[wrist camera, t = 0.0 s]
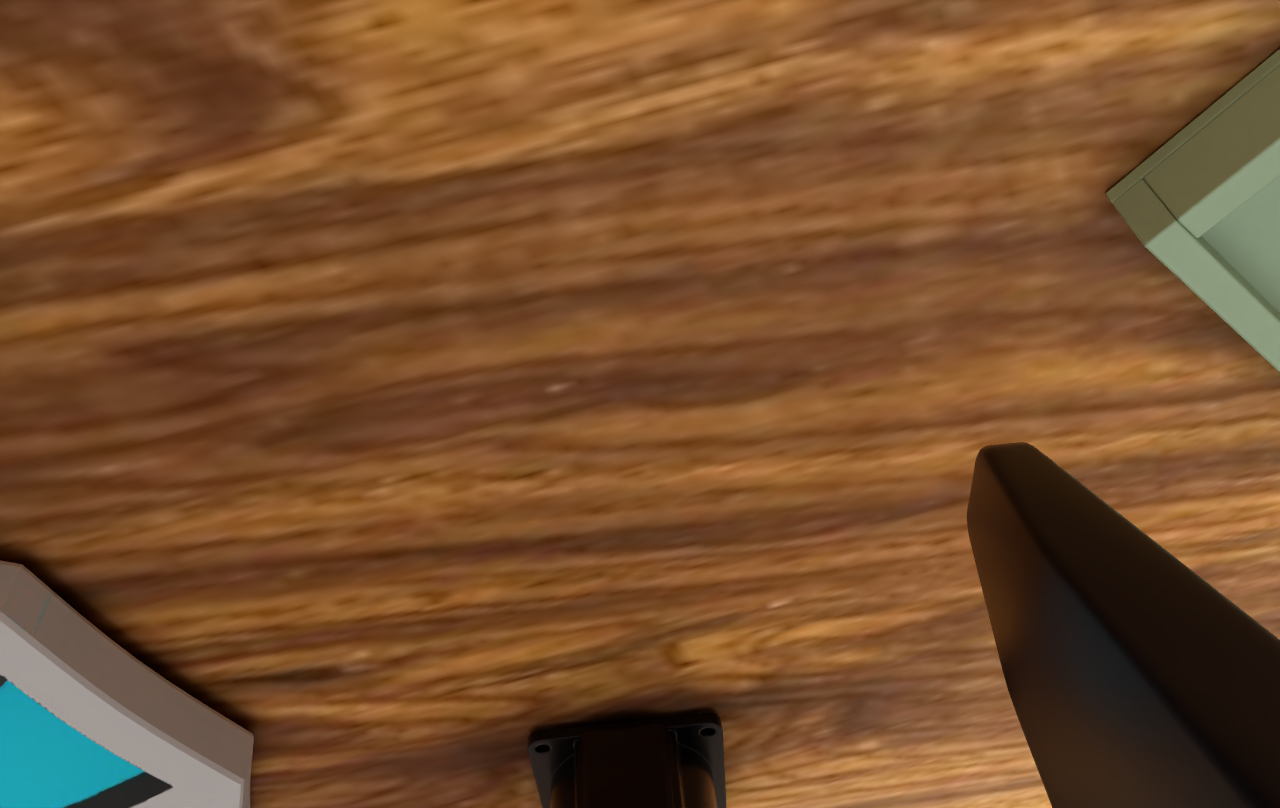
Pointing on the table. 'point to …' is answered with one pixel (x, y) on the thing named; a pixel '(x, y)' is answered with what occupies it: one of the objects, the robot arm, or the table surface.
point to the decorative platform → (101, 718)
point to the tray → (1220, 207)
